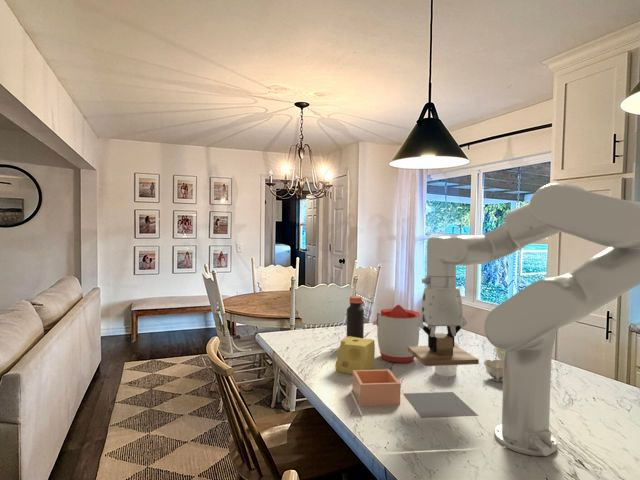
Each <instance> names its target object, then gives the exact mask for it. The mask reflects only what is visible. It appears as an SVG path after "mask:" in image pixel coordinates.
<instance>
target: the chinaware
mask: <svg viewBox="0 0 640 480" xmlns="http://www.w3.org/2000/svg"><path fill="white" fill-rule="evenodd" d="M494 351H495V352H496V353H497V354H496V356H497V358H498V359H494V360H493V359H492V360H491V359H484V362H483V365H484V366H485V368H486V371H487V372H486V373H487V374H488V375H489V377H491V380H492V381H494V382H500V383H501V382H503V367H504V354H505V351H503V350H500V349H498V348H496V347H495V348H494Z"/></svg>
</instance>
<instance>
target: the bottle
mask: <svg viewBox="0 0 640 480" xmlns="http://www.w3.org/2000/svg"><path fill="white" fill-rule="evenodd" d="M362 301H363V299H362V296H361V295H360V296H358V295H353V296H349V302H348V303H349V304H350V305H349V306H348V307H347V309H346V337H348V336H351V337H356V338H364V330H365V329H364V328H365V326H364V325H365V310H364V308H363V307H362V306H361V305H362Z"/></svg>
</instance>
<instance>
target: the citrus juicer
mask: <svg viewBox="0 0 640 480" xmlns="http://www.w3.org/2000/svg"><path fill="white" fill-rule="evenodd" d="M376 314H377V315H376V320H375V321H373V322H372V326H376V327H377V332H376V333H377V345H378V349H379V353H380V356H381V358H382V359H383V360H384V361H386V362H392V363H403V364H407V363H409V362H413V361H414V360H415V357H414V356H413V355H412V354H411V353H410V352H409V351H408V346H419V342H420V327H418V326H417V325H416V322H417V320H418V319H419V317H420V315H421V313H420V312H418V311H416V310H413V309H412V310H411V309H406V308H405V309H404V307H403V306H402V305H400V304H396V305H395V306H394V307H393V308H385V309H381V310H380V313H379V312H377V313H376Z"/></svg>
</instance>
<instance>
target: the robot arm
mask: <svg viewBox="0 0 640 480" xmlns="http://www.w3.org/2000/svg"><path fill="white" fill-rule="evenodd" d="M559 233H564V234H567V235H571V236H574V237H576V238H580V239H582V240H585V241H588V242H592V243H593V244H597V245H601V246H603V247H607V248H605V249H604V250H603V251H600V252H599V253H597V254H595V255H593V256H592V257H590V258H589V259H587V260H585V261H584V262H583V263H581V264H580V265H578V266H577V267H575V268H573V269H572V270H570V271H568V272H566V273H564V274H561V275H557V276H552V277H550V276H549V277H545V278H542V279H538V280H536V281H534V282H532V283H531V284H528V285H527V286H525V287H524V288H523V289H520V291H518V292H517V293H515V294H513V295H512V296H510V297H509V298H507V299H506V300H504V301H503V302H502V303H500V304H498V305H497V306H495V308H493V309H492V310H491V311H490V312H489V313H488V315H487V316H486V318H485V322H484V326H483V327H484V328H483V329H484V334H485V336H486V339H487V340H488V342H489V343H490V344H491V345H492V346H493V347H495V348H497V349H500V350H503V351H505V354H504V367H503V379H502V380H503V381H502V407H501V408H502V411H501V424H498V425H497V426H496V427H495V428H494V429H493V430H494V431H493V434H494V438H495V440H497V441H498V443H500V444H501V445H502V446H504V447H505V448H507V449H509V450H510V451H513V452H516V453H520V454H524V455H527V456H528V455H529V456H534V457H544V456H545V457H546V456H547V457H548V456H550V455H552V454H555V453H556V451H557V450H558V445H557V443H558V442H557V440H556V439H555V438H554V437H553V436H552V431H551V430H550V412H551V411H550V409H551V378H552V377H551V376H552V360H553V359H552V358H553V352H554V351H553V349H554V345H555V340H556V333H557V330H558V329H561V328H563V327H565V326H567V325H570V324H571V325H572V324H573V323H577V322H579V321H581V320H583V319H584V318H586V317H588V316H589V315H591V314H592V313H594V312H596V311H597V310H599V309H600V308H602V307H603V306H605V305H606V304H609V303H610V302H612V301H614V300H616V299H618V298H619V297H620V296H622V295H624V294H625V293H628V292H629V291H630V290H632V289H634V288H635V287H637V286H639V285H640V201H636V200H635V201H633V200H626V199H622V198H617V197H613V196H608V195H604V194H601V193H596V192H591V191H588V190H586V189H584V188H583V187H580V186H577V185H573V184H572V185H571V184H567V183H562V182H561V183H560V182H554V183H553V182H552V183H548V184H546V185H543V186H541V187H539V188H538V189H537V190H536V191H535V192H534V193H533V195H532V196H531V198H530V200H529V202H527V203H525V204H524V205H520V206H519V207H516V208H514V209H513V210H510V211H508V212H507V213H506V214H505V216H504V223H502V225H500V226H498V227H497V228H495V229H492V230H490V231H488V232H485V233H483V234H479V235H457V236H456V235H455V236H430V237H429V238H428V239H427V241H426V276H425V278H424V277H423V278H421V283H422V284H425V285H426V286H424V289H423V293H422V300H421V313H420V316H419V319H418V320H417V322H416V325H417V326H418V327H419V329H421V330H422V331H424V333H426V335H427V346H428V347H429V348H430V350H432V351H433V352H436V337H435V333H436V328H437V327H446V329H447V333H445V334H446V335H448V336H449V337H451V338H453V347H454V342H455V337H457V334H458V333H459V331H461V329H462V328H465V326H466V325H467V320H465V317H464V315H463V314H464V313H463V304H462V302H463V301H462V296H461V291H460V287H458V286H457V266H461V267H462V266H463V267H464V266H474V265H486V264H488V263H491V262H493V261H496V260H499V259H501V258H505V257H506V256H510V255H512V254H513V253H515V252H517V251H519V250H521V249H524V248H525V247H527V246H529V245H530V244H534V243H536V242H538V241H542V240H543V239H547V238H549V237H552V236H553V235H556V234H559ZM424 323H427V324H428V326H427V325H426V324H424Z"/></svg>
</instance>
